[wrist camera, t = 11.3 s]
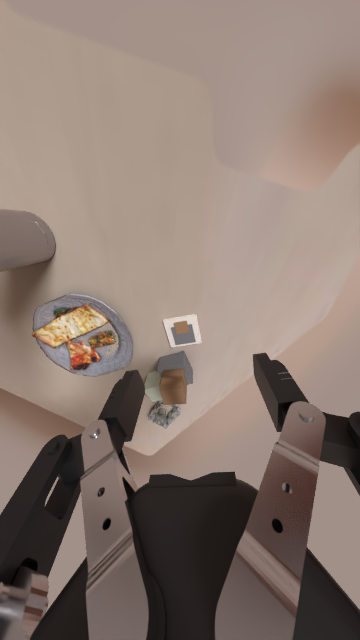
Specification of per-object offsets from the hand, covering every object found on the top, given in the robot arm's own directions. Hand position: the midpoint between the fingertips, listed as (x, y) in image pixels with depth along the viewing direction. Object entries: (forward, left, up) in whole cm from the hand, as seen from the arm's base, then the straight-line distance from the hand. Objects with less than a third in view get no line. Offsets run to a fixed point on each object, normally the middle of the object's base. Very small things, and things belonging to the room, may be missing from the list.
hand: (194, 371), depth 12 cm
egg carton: (-17, -40, -29) cm, 52 cm away
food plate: (-30, -10, -29) cm, 43 cm away
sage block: (-15, -27, -28) cm, 42 cm away
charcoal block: (-9, -23, -28) cm, 38 cm away
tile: (-5, -13, -28) cm, 31 cm away
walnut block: (-9, -23, -23) cm, 34 cm away
